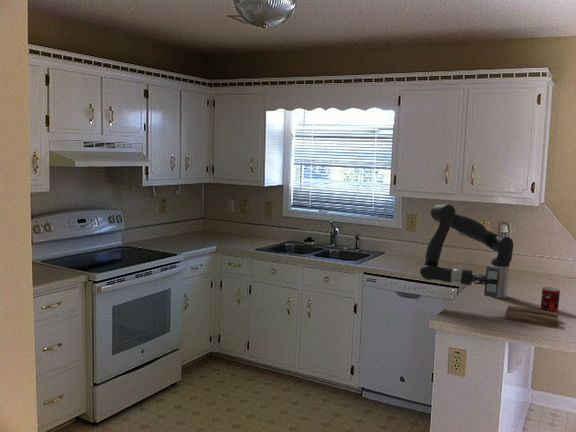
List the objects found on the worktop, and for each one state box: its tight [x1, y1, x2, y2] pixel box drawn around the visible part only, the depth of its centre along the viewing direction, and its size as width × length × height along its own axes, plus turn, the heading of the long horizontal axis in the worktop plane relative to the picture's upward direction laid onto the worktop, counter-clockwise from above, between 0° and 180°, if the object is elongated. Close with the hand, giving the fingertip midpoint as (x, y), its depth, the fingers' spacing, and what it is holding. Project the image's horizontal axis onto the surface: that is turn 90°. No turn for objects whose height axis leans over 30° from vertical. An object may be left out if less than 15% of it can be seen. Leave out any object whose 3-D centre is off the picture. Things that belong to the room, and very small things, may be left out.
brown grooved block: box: [504, 305, 559, 328], centre depth 268 cm, size 13×22×4 cm, turn 64°
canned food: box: [540, 286, 561, 313], centre depth 287 cm, size 8×8×11 cm
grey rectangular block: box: [483, 265, 500, 298], centre depth 277 cm, size 3×6×14 cm, turn 64°
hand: (498, 281), depth 275 cm, fingers closed on grey rectangular block, 3 cm apart
